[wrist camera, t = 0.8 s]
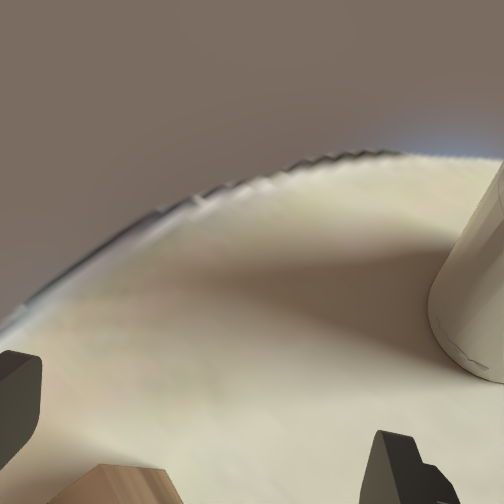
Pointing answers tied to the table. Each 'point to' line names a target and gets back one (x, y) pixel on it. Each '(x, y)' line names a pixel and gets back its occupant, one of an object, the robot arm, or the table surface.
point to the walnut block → (120, 487)
